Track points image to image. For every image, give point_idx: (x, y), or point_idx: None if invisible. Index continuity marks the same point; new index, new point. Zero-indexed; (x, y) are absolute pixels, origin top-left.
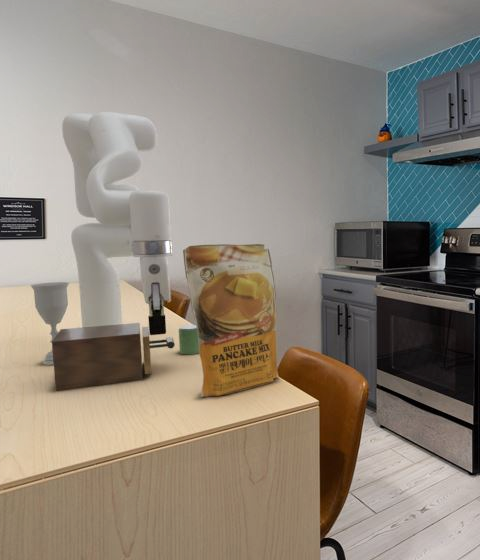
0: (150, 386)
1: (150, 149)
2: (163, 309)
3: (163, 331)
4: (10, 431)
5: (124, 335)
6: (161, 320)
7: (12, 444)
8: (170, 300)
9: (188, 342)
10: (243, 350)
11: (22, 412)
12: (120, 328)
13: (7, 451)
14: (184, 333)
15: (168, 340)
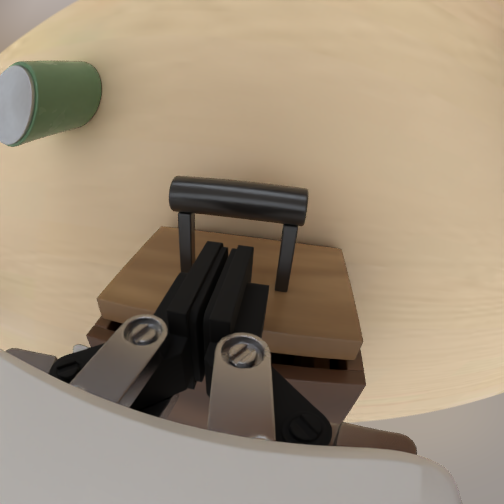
0: (420, 258)
1: None
2: (271, 392)
3: (251, 264)
4: (445, 407)
5: (346, 414)
6: (238, 319)
7: (482, 397)
8: (432, 465)
9: (73, 101)
10: None
11: (386, 411)
12: (192, 405)
13: (493, 395)
14: (43, 120)
15: (257, 215)
